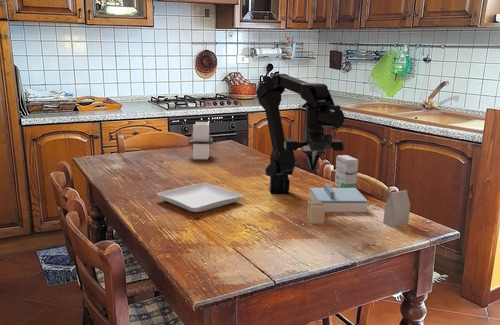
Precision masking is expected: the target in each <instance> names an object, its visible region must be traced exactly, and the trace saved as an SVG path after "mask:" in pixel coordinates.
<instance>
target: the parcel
mask: <svg viewBox="0 0 500 325" xmlns="http://www.w3.org/2000/svg"><path fill="white" fill-rule="evenodd" d="M325 213H326V212H325V207H324V205H323V204H322V202H321V201H311V200H310V201H309V200H308V201H307V216H306V217H307V218H308V221H309V223H310V224H325V216H326V215H325Z"/></svg>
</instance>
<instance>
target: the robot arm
mask: <svg viewBox="0 0 500 325" xmlns="http://www.w3.org/2000/svg"><path fill="white" fill-rule="evenodd" d="M286 90H288V91H290V92H293V93H295V94H298V95H299V96H300V98H301V99H302V100H304V101H305V103H303V104H302V106H301V108H303V109H306V113H305V131H304V141H298V139H296V138H285V132H284V126H283V122H282V117H281V113H280V112H281V110H280V104H281V101H282V95H283V93H284V92H285V91H286ZM256 96H257V100H258V103H259V105H260V107H262V108H263V110H264V111H265V116H266V121H267V126H268V131H269V136H270V141H271V147H272V151H271V153H270V156H269V161H270V163H269V164H268V165H267V167H266V168H265V169H264V171H265V176H267V177H269V187H268V190H269V193H270V194H271V195H272V194H273V195H274V194H278V195H282V194H287V195H288V194H289V191H290V181H291V180H290V178H289V176H293V174H294V170H295V167H296V158H295V151H297V150H298V149H299V148H300V150H301V152H302V153H303V154H305V156H306V159H307V162H308V165H309V166H308V167H309V168H310V171H312V172H313V171H315V168H316V166H317V164H318V162H319V160H320V157H321V156H322V155H323V154H326V153H327V151H326V148H331V149H332V150H333V151H335V152H340V151H341V152H343V151H344V150H345V145H344V141H342V140H340V139H338V138H337V139H336V138H333V135H332V134H325V128H324V127H329V128H334V129H339V128H341V127H342V125H343V124H344V122H345V118H346V117H345V115H344V114H345V113H344V112H343V111H342V109H341V105H338V104H337V105H336V104H335V103H334V99H333V97H332V94H331V93H330V91H329V88H328V85H327V84H325V83H318V82H307V81H304V80H301V79H299V78H296V77H293V76H290V75H288V74H287V73H276V74H274V75H273V76H272V77H271V78H269V79H267V80H265V81H264V82H262V83H261V84H260V85H259V86H258V87H257V89H256Z"/></svg>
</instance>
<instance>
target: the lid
mask: <svg viewBox="0 0 500 325" xmlns="http://www.w3.org/2000/svg"><path fill="white" fill-rule="evenodd" d="M310 190H311V191H312V193H313V195H314V196H315V198H316V200H317V201H321V202H367V203H368V200H367V199H366V197H365V196H364V195H363V193H361V192H360V191H359V190H358V189H356V188H339V187H331V186H330V184H329V183H327V182H326V183H324V184H323V187H310V188H309V191H310Z"/></svg>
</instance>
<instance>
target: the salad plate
mask: <svg viewBox="0 0 500 325" xmlns="http://www.w3.org/2000/svg"><path fill="white" fill-rule="evenodd" d="M156 195H157V197H158V198H160V199H161V200H163V201H165V202H168V203H170V204H171V205H175V206H177V207H179V208H182V209H185V210H187V211H188V212H193V213H201V212H206V211H209V210H213V209H217V208H220V207H223V206H226V205H229V204H233V203H236V202H238V201H239V200H241V199H242V198H243V196H244V195H243V194H241V193H238V192H235V191H232V190H230V189H227V188H223V187H221V186H217V185H214V184H211V183H207V182H201V183H200V182H199V183H195V184H190V185H185V186H181V187H177V188H176V187H175V188H173V189H168V190H164V191H159V192H157V193H156Z"/></svg>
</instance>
